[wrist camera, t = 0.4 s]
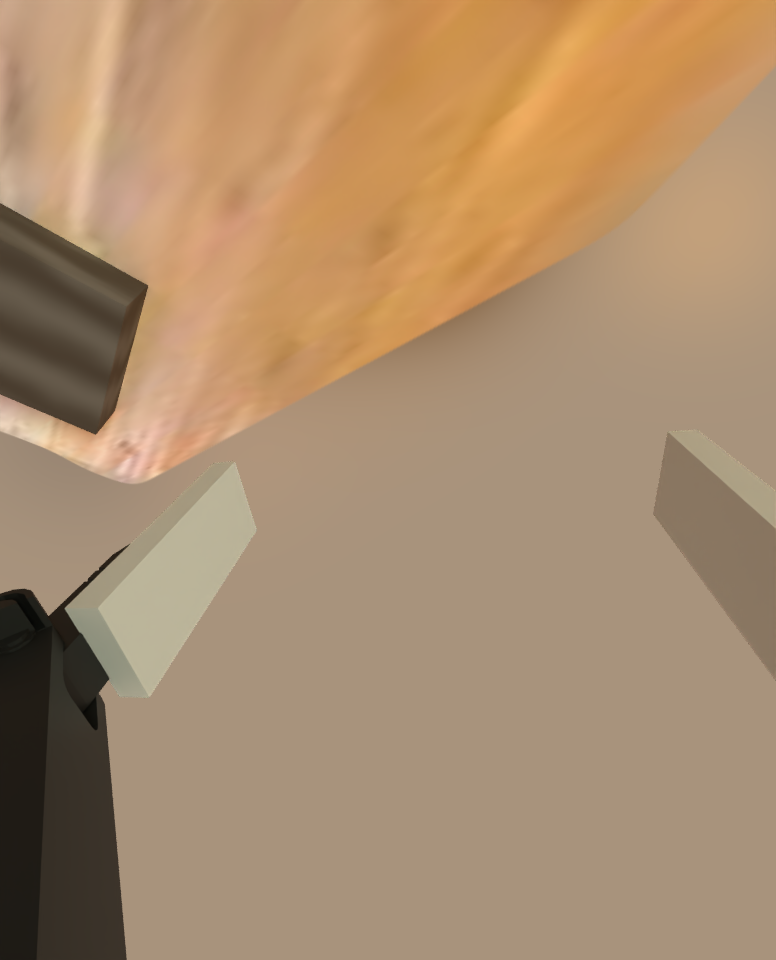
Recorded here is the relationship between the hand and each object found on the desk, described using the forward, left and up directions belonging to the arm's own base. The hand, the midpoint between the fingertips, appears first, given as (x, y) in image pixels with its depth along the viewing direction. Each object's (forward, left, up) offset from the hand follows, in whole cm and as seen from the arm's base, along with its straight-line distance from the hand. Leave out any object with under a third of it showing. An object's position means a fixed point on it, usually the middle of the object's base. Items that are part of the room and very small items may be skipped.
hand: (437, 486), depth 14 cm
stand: (+25, -25, -28) cm, 45 cm away
